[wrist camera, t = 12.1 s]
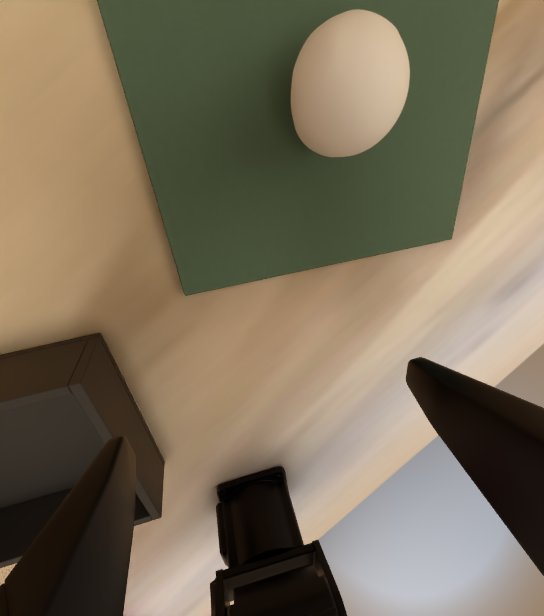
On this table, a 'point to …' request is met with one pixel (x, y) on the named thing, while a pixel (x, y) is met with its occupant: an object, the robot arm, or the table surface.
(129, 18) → the placemat
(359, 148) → the mushroom
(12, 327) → the table surface
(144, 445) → the black box
